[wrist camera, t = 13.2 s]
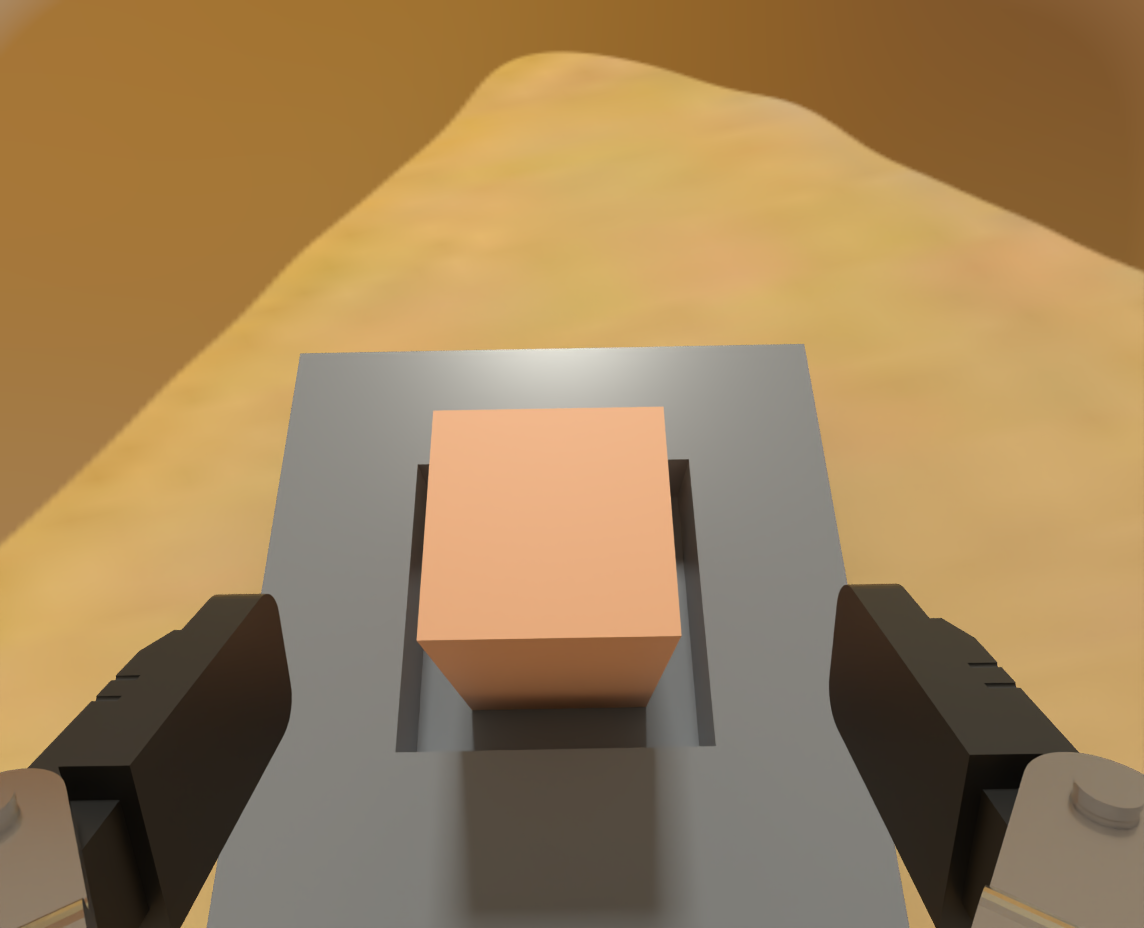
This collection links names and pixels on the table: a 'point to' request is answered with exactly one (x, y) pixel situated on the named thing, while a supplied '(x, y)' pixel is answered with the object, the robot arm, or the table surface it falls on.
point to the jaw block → (549, 557)
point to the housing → (560, 736)
